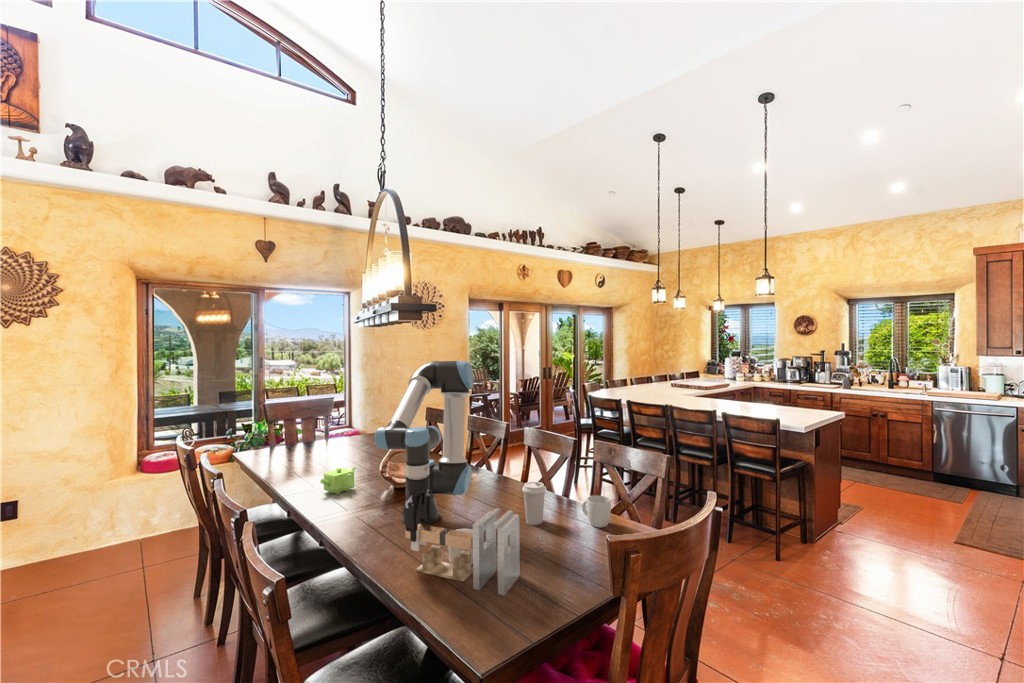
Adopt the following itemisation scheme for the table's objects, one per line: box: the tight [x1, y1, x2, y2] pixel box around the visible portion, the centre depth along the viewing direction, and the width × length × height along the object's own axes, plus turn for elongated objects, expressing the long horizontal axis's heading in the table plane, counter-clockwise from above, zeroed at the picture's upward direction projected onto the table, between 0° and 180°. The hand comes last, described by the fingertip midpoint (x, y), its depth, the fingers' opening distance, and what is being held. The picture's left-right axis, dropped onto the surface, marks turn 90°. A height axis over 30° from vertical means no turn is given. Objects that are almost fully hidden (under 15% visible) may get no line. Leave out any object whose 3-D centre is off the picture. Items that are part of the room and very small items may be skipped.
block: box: [404, 524, 473, 550], centre depth 149 cm, size 24×4×4 cm, turn 67°
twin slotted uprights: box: [472, 507, 521, 596], centre depth 141 cm, size 10×12×20 cm
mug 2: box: [581, 495, 612, 529], centre depth 185 cm, size 13×9×10 cm
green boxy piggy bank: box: [320, 465, 358, 496], centre depth 226 cm, size 15×14×11 cm
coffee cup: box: [521, 481, 547, 526], centre depth 187 cm, size 10×10×15 cm
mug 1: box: [447, 528, 473, 565], centre depth 157 cm, size 13×10×8 cm
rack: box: [416, 544, 473, 582], centre depth 148 cm, size 17×7×6 cm, turn 67°
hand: (419, 547), depth 152 cm, fingers closed on block, 4 cm apart
